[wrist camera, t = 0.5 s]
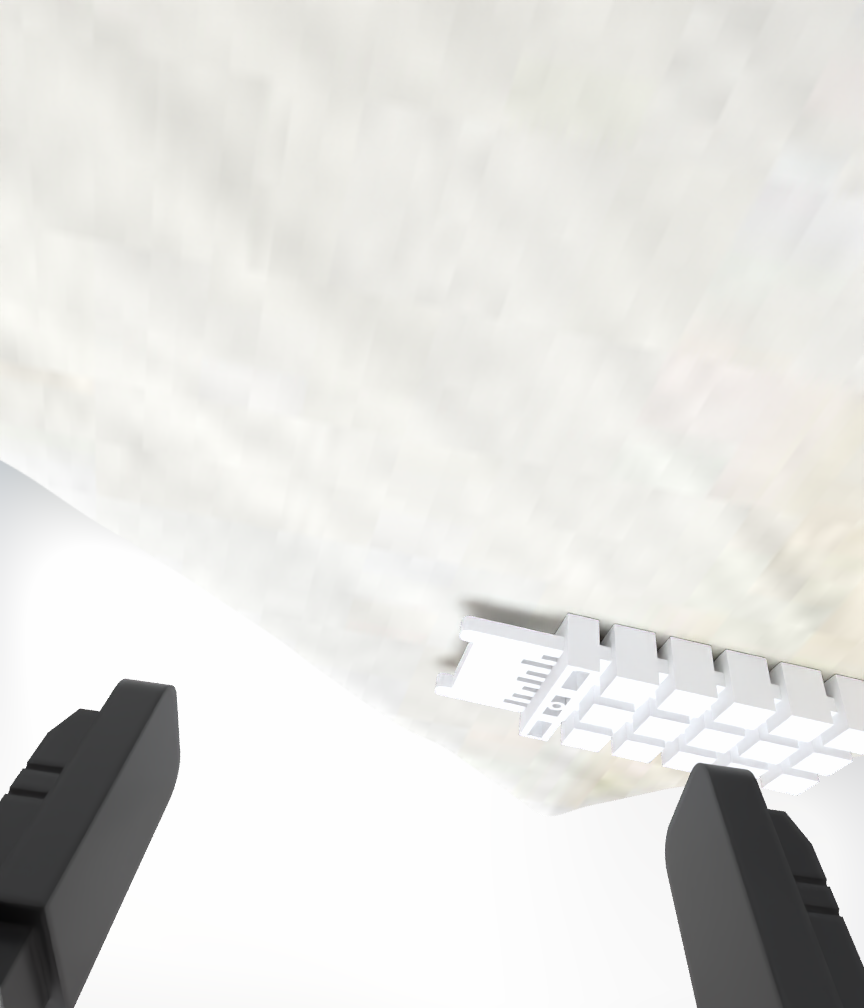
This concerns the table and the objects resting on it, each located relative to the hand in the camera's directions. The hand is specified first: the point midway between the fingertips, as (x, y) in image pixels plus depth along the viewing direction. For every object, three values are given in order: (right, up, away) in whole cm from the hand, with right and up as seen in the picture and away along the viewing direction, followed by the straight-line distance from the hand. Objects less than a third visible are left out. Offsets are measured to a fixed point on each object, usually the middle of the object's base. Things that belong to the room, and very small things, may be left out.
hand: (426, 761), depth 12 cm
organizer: (+19, -11, +55) cm, 59 cm away
